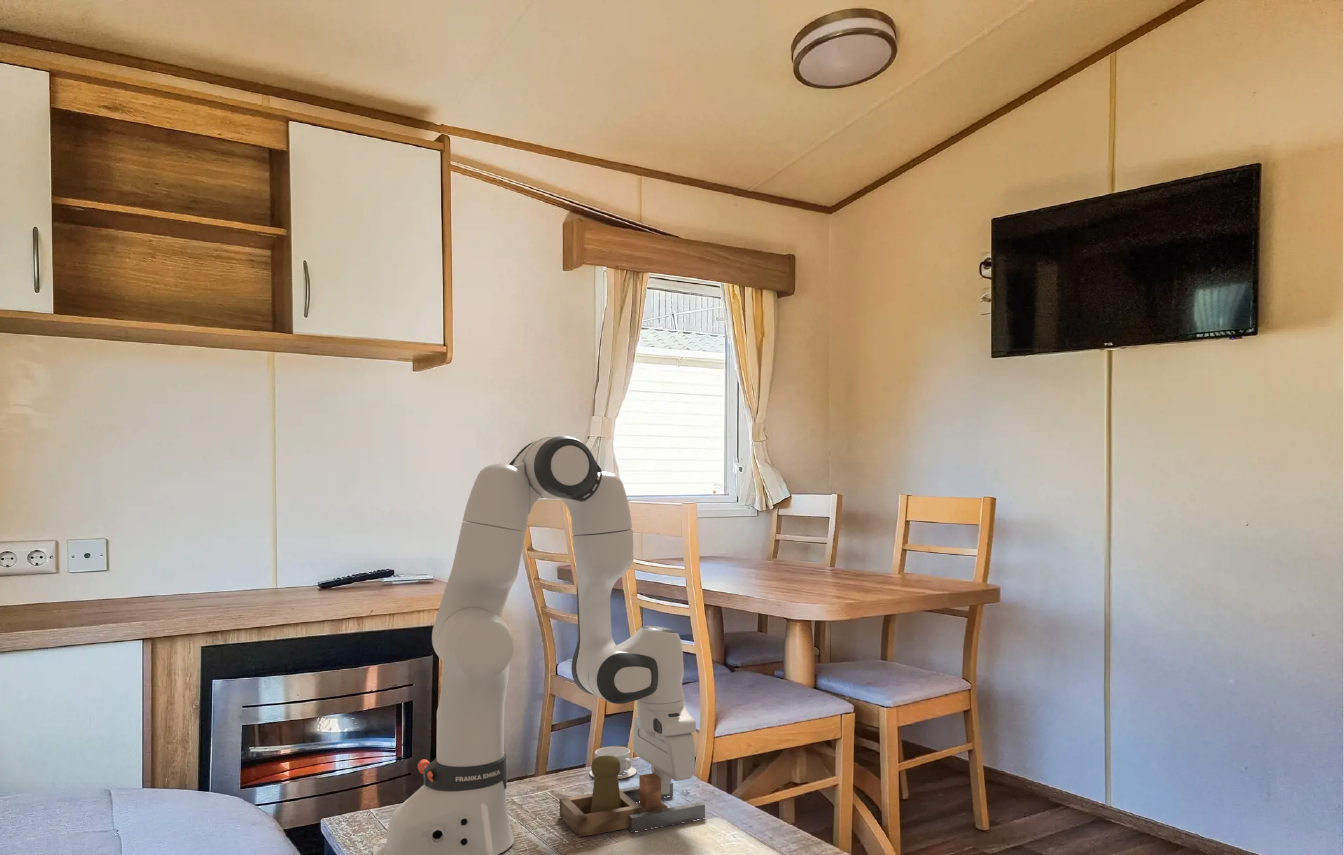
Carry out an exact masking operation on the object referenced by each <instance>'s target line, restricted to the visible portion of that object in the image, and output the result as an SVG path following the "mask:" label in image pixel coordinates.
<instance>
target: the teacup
mask: <svg viewBox="0 0 1344 855" xmlns="http://www.w3.org/2000/svg"><path fill="white" fill-rule="evenodd" d="M594 755H595V757H594V758H597V757H599V756H606V755H608V756H614V757H616V758H618V760H619V761H620V772H619V774H618V775H622V776H617V777H618V780H619V779H620V780H621V779H626V778H630V777H632V776H634V775H636V774H637V768H635V767H633V766H632V761H631V758H630V757H631V750H630V749H629V748H627V747H624V746H605V747H600V748H597V749H596V750H595V752H594ZM625 770H628V771H625ZM624 771H625V772H624ZM623 773H625V774H623ZM588 774H589V775H590V777H593V778H595V777H594V775H593V774H592V770H590V771H589V772H588Z"/></svg>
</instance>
